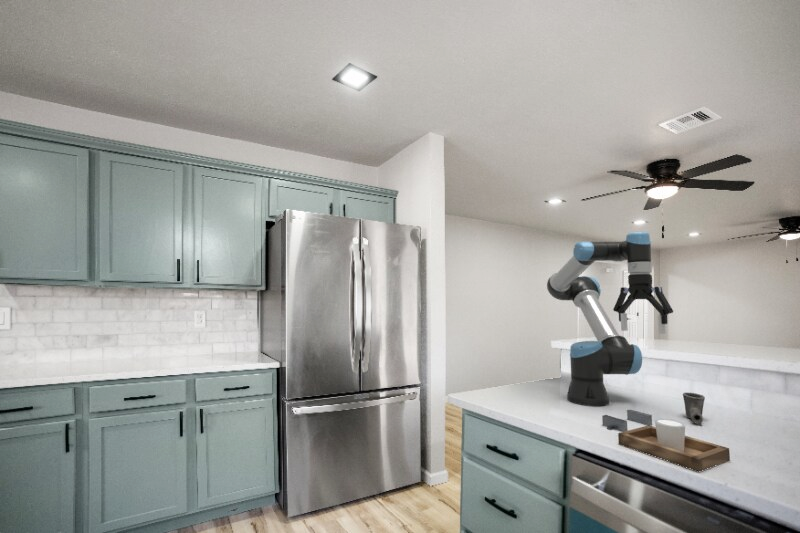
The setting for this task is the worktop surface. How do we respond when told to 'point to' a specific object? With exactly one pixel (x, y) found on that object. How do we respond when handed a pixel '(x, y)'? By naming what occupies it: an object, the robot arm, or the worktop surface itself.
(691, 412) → the pipe
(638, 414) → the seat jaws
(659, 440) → the light grey cup
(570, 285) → the robot arm
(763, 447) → the worktop surface
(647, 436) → the tray
